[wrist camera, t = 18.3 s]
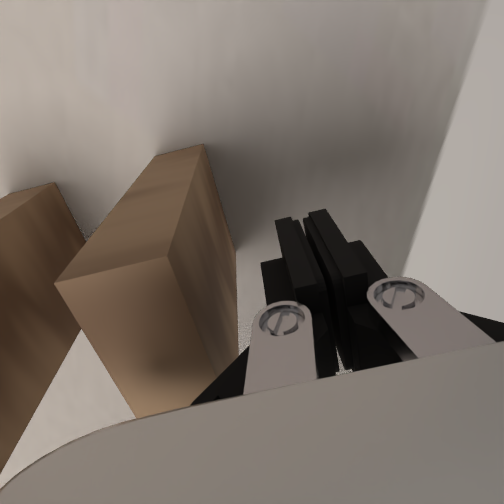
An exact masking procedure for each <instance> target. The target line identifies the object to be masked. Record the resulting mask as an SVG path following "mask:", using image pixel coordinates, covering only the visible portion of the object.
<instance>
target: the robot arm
mask: <svg viewBox="0 0 504 504" xmlns="http://www.w3.org/2000/svg"><path fill="white" fill-rule="evenodd" d="M308 215H309V217H307V218H303V223H304V228H305V234H306V236H305V234H304V231H303V229H302V227H301V224H300V222H299V220H294V221H292V218H291V217H287V218H283V219H279V220H275V225H276V229H277V234H278V239H279V243H280V248H281V252H282V257H283V258H279V259H274V260H270V261H266V262H261V270H262V277H263V283H264V290H265V297H266V303H267V306H266V307H264V308H263V309H262V310H260V311H259V312H258V314H257V315H256V316H255V318H254V321H253V325H252V332H251V340H250V346H249V347H248V348H246V349H245V350H244V351H243V352H242V353H241V354H240V355H239V356H238V357H237V358H236V359H235V360H234V361H233V362H232V363H231V364H230V365H229V366H228V367H227V368H226V369H225V370H224V371H223V372H222V373H221V374H220V375H219V376H218V377H217V378H216V379H215V380H214V381H213V382H212V383H211V384H210V385H209V386H208V387H207V388H206V389H205V390H204V391H203V392H202V393H201V394H200V395H199V396H198V397H197V398H196V399H195V400H194V401H193V402H192V403H191V405H190V406H187V407H182V408H178V409H173V410H169V411H165V412H161V413H157V414H153V415H149V416H145V417H141V418H137V419H132V420H128V421H124V422H121V423H118V424H115V425H112V426H109V427H105V428H102V429H99V430H96V431H94V432H92V433H89V434H87V435H85V436H82V437H80V438H77V439H75V440H73V441H70V442H68V443H67V444H65V445H63V446H61V447H59V448H57V449H56V450H54V451H52V452H50V453H48V454H46V455H45V456H43V457H41V458H40V459H38V460H37V461H35V462H34V463H32V464H30V465H29V466H27V467H26V468H25V469H23V470H22V471H21V472H19V473H18V474H17V475H15V476H14V477H13V478H12V479H11V480H9V481H8V482H7V483H6V484H5V485H4V486H3V487H2V488H1V489H0V504H504V323H502V322H498V321H494V320H491V319H487V318H483V317H479V316H475V315H471V314H467V313H463V312H459V311H457V310H456V309H455V308H454V307H452V306H451V305H450V304H449V303H448V302H446V301H445V300H444V299H443V298H441V297H440V296H439V295H438V294H437V293H435V292H434V291H433V290H431V289H430V288H429V287H428V286H427V285H425V284H424V283H422V282H420V281H418V280H415V279H412V278H407V277H389V278H388V277H387V275H386V274H385V273H384V271H383V270H382V268H381V267H380V266H379V264H378V263H377V262H376V260H375V259H374V258H373V256H372V255H371V254H370V252H369V251H368V249H367V248H366V247H365V245H364V244H363V243H362V242H361V241H360V240H358V241H354V242H349V243H348V242H347V241H346V239H345V238H344V236H343V235H342V233H341V232H340V230H339V229H338V227H337V225H336V224H335V222H334V221H333V219H332V218H331V216H330V215H329V213H328V212H327V210H326V209H322V210H317V211H313V212H309V213H308ZM336 348H337V350H338V353H339V356H340V358H341V361H342V364H343V366H344V369H345V370H348V369H352V371H353V372H350V373H345V374H341V375H336V373H335V372H339V364H338V358H337V351H336Z"/></svg>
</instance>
